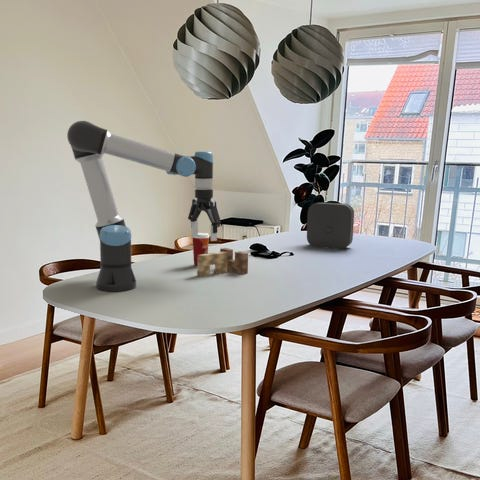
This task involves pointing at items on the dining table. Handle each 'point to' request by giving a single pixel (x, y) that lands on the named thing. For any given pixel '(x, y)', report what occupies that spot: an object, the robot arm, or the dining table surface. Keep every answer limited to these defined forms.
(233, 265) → the wooden notched block
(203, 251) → the coffee cup
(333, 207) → the speaker
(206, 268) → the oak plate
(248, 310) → the dining table surface
